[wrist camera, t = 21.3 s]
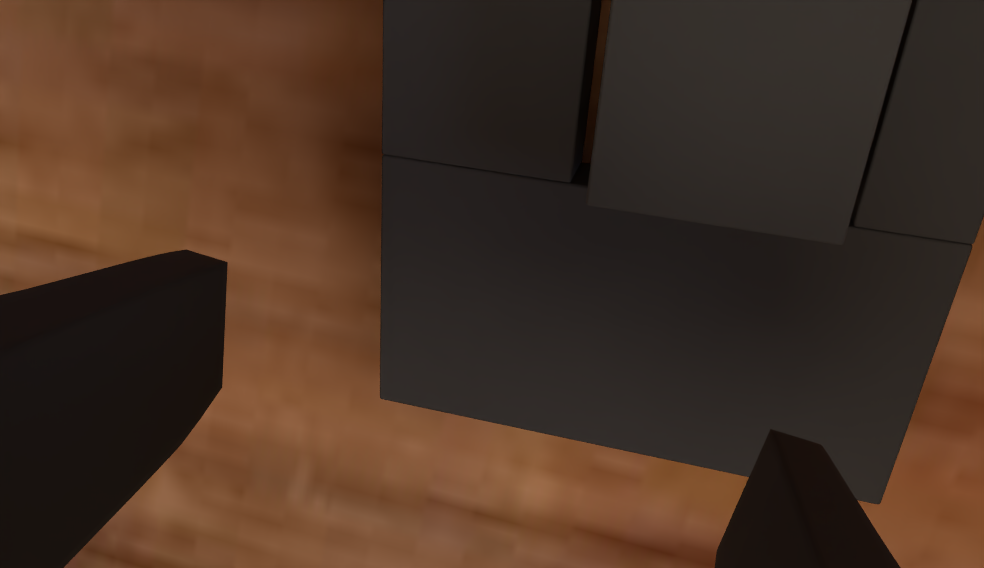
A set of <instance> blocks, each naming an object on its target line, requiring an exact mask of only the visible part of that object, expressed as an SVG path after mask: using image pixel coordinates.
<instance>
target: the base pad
mask: <svg viewBox="0 0 984 568" xmlns="http://www.w3.org/2000/svg"><path fill="white" fill-rule="evenodd" d="M601 1H602V0H383V93H382V154H384V155H383V156H382V224H381V339H380V398H381V399H385V400H389V401H394V402H399V403H403V404H408V405H413V406H418V407H422V408H427V409H432V410H436V411H441V412H446V413H451V414H455V415H460V416H465V417H469V418H474V419H479V420H483V421H488V422H493V423H498V424H502V425H507V426H512V427H516V428H521V429H526V430H530V431H535V432H540V433H545V434H549V435H554V436H559V437H563V438H568V439H573V440H577V441H582V442H587V443H592V444H596V445H601V446H606V447H610V448H615V449H620V450H624V451H629V452H634V453H639V454H643V455H648V456H653V457H657V458H662V459H667V460H671V461H676V462H681V463H686V464H690V465H695V466H700V467H704V468H709V469H714V470H718V471H723V472H728V473H733V474H737V475H742V476H747V477H749V476H750V474H751V472H752V470H753V467H754V465H755V463H756V461H757V458H758V456H759V454H760V452H761V449H762V447H763V445H764V442H765V440H766V438H767V436H768V433H769V431H770V429H773V430H776V431H779V432H782V433H786V434H789V435H792V436H795V437H799V438H802V439H805V440H808V441H812V442H815V443H818V444H821V445H822V446H823V447H824V449H825V450H826V452H827V453H828V455H829V456H830V458H831V460H832V461H833V463H834V464H835V466H836V467H837V469H838V471H839V472H840V474H841V475H842V477H843V479H844V480H845V482H846V483H847V485H848V487H849V488H850V490H851V492H852V493H853V495H854V496H855V498H856V500H860V501H864V502H869V503H874V504H880V503H881V500H882V497H883V494H884V492H885V489H886V486H887V483H888V481H889V478H890V475H891V472H892V469H893V467H894V464H895V461H896V458H897V455H898V453H899V450H900V447H901V444H902V442H903V439H904V436H905V433H906V430H907V428H908V425H909V422H910V419H911V417H912V414H913V411H914V408H915V405H916V403H917V400H918V397H919V394H920V391H921V389H922V386H923V383H924V380H925V378H926V375H927V372H928V369H929V366H930V364H931V361H932V358H933V355H934V352H935V350H936V347H937V344H938V341H939V339H940V336H941V333H942V330H943V327H944V325H945V322H946V319H947V316H948V313H949V311H950V308H951V305H952V302H953V300H954V297H955V294H956V291H957V288H958V286H959V283H960V280H961V277H962V274H963V272H964V269H965V266H966V263H967V261H968V258H969V255H970V252H971V249H972V245H971V244H973V243H974V242H975V239H976V236H977V233H978V230H979V228H980V225H981V222H982V219H983V217H984V0H912V3H911V6H910V10H909V13H908V17H907V20H906V24H905V28H904V31H903V35H902V38H901V42H900V45H899V49H898V52H897V56H896V59H895V63H894V67H893V70H892V74H891V77H890V81H889V84H888V88H887V91H886V95H885V98H884V102H883V106H882V109H881V113H880V116H879V120H878V123H877V127H876V130H875V134H874V137H873V141H872V145H871V148H870V152H869V155H868V159H867V162H866V166H865V169H864V173H863V176H862V180H861V184H860V187H859V191H858V194H857V198H856V201H855V205H854V208H853V212H852V215H851V219H850V223H849V226H848V230H847V233H846V237H845V240H844V243H843V244H842V245H837V244H831V243H824V242H818V241H812V240H805V239H799V238H793V237H786V236H780V235H774V234H767V233H761V232H755V231H748V230H742V229H735V228H729V227H723V226H716V225H710V224H704V223H697V222H691V221H685V220H678V219H672V218H665V217H659V216H653V215H646V214H640V213H634V212H627V211H621V210H615V209H608V208H602V207H595V206H589V205H587V204H586V197H587V189H588V181H589V173H590V165H591V164H584V163H581V162H582V157H583V149H584V141H585V133H586V124H587V116H588V108H589V100H590V91H591V83H592V75H593V67H594V59H595V50H596V42H597V34H598V26H599V17H600V9H601Z"/></svg>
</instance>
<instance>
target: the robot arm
mask: <svg viewBox="0 0 984 568" xmlns="http://www.w3.org/2000/svg"><path fill="white" fill-rule="evenodd" d="M226 284H227V262H225V261H222V260H218V259H215V258H212V257H209V256H205V255H202V254H199V253H196V252H192V251H189V250H181V251H175V252H169V253H164V254H159V255H155V256H151V257H146V258H142V259H138V260H134V261H131V262H127V263H123V264H119V265H115V266H112V267H108V268H104V269H100V270H97V271H93V272H89V273H85V274H82V275H78V276H74V277H70V278H67V279H63V280H59V281H55V282H52V283H48V284H44V285H40V286H36V287H33V288H29V289H25V290H21V291H16V292H12V293H8V294H3V295H0V568H64V567H65V565H66V564H67V563H68V562H69V561H70V560H71V559H72V558H73V557H74V556H75V555H76V554H77V553H78V552H79V551H80V550H81V549H82V548H83V547H84V546H85V545H86V544H87V543H88V542H89V541H90V540H91V539H92V538H93V536H94V535H95V534H96V533H97V532H98V531H99V530H100V529H101V528H102V527H103V526H104V525H105V524H106V523H107V522H108V521H109V520H110V519H111V518H112V517H113V516H114V515H115V514H116V513H117V512H118V511H119V510H120V509H121V507H122V506H123V505H124V504H125V503H126V502H127V501H128V500H129V499H130V498H131V497H132V496H133V495H134V494H135V493H136V492H137V491H138V490H139V489H140V488H141V487H142V486H143V485H144V484H145V483H146V481H147V480H148V479H149V478H150V477H151V476H152V475H153V474H154V473H155V472H156V471H157V470H158V469H159V468H160V467H161V466H162V465H163V463H164V462H165V461H166V460H167V459H168V458H169V457H170V456H171V455H172V454H173V453H174V452H175V451H176V449H177V448H178V447H179V446H180V445H181V444H182V443H183V441H184V440H185V439H186V437H187V436H188V435H189V433H190V432H191V431H192V429H193V428H194V426H195V425H196V424H197V422H198V421H199V420H200V418H201V417H202V416H203V414H204V413H205V411H206V410H207V408H208V407H209V405H210V404H211V403H212V401H213V400H214V398H215V397H216V395H217V394H218V392H219V391H220V390H221V388H222V377H223V354H224V330H225V307H226ZM715 568H900V566H899V565H898V563H897V562H896V560H895V559H894V557H893V556H892V554H891V553H890V551H889V550H888V548H887V547H886V545H885V544H884V542H883V541H882V539H881V537H880V536H879V534H878V533H877V531H876V530H875V528H874V527H873V525H872V523H871V522H870V520H869V519H868V517H867V515H866V514H865V512H864V511H863V509H862V508H861V506H860V504H859V503H858V501H857V500H856V498H855V496H854V495H853V493H852V492H851V490H850V488H849V487H848V485H847V483H846V482H845V480H844V479H843V477H842V475H841V474H840V472H839V471H838V469H837V467H836V466H835V464H834V463H833V461H832V460H831V458H830V456H829V455H828V453H827V452H826V450H825V449H824V447H823V446H822V445H821V444H818V443H815V442H812V441H808V440H805V439H802V438H799V437H795V436H792V435H789V434H786V433H782V432H779V431H776V430H773V429H770V431H769V433H768V436H767V438H766V440H765V442H764V445H763V447H762V449H761V452H760V454H759V456H758V458H757V461H756V463H755V465H754V467H753V470H752V472H751V474H750V476H749V479H748V481H747V483H746V486H745V488H744V490H743V492H742V495H741V497H740V499H739V501H738V504H737V506H736V508H735V511H734V513H733V515H732V517H731V520H730V522H729V524H728V526H727V529H726V531H725V533H724V536H723V538H722V540H721V542H720V545H719V547H718V549H717V554H716V562H715Z"/></svg>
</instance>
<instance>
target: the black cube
mask: <svg viewBox="0 0 984 568" xmlns="http://www.w3.org/2000/svg"><path fill="white" fill-rule="evenodd" d="M911 3H912V0H611V7H610V15H609V23H608V31H607V39H606V47H605V55H604V62H603V70H602V78H601V86H600V94H599V102H598V110H597V118H596V126H595V134H594V142H593V149H592V157H591V165H590V173H589V181H588V189H587V197H586V204H587V205H589V206H595V207H602V208H608V209H615V210H621V211H627V212H634V213H640V214H646V215H653V216H659V217H665V218H672V219H678V220H685V221H691V222H697V223H704V224H710V225H716V226H723V227H729V228H735V229H742V230H748V231H755V232H761V233H767V234H774V235H780V236H786V237H793V238H799V239H805V240H812V241H818V242H824V243H831V244H837V245H842V244H843V243H844V240H845V237H846V233H847V230H848V226H849V223H850V219H851V215H852V212H853V208H854V205H855V201H856V198H857V194H858V191H859V187H860V184H861V180H862V176H863V173H864V169H865V166H866V162H867V159H868V155H869V152H870V148H871V145H872V141H873V137H874V134H875V130H876V127H877V123H878V120H879V116H880V113H881V109H882V106H883V102H884V98H885V95H886V91H887V88H888V84H889V81H890V77H891V74H892V70H893V67H894V63H895V59H896V56H897V52H898V49H899V45H900V42H901V38H902V35H903V31H904V28H905V24H906V20H907V17H908V13H909V10H910V6H911Z"/></svg>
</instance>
